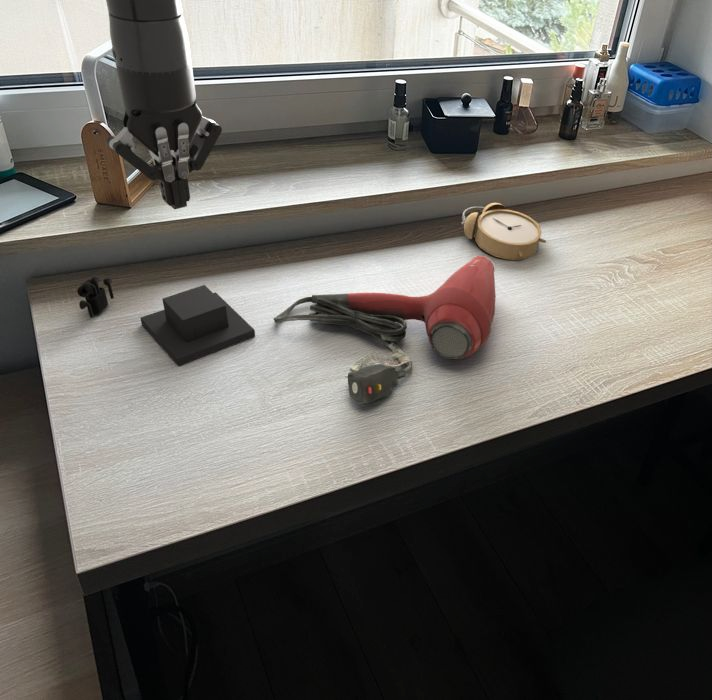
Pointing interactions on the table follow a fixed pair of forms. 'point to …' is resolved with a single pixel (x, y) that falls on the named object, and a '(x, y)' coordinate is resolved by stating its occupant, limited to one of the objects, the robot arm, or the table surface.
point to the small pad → (195, 313)
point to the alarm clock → (503, 231)
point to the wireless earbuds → (94, 295)
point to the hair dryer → (382, 310)
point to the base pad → (200, 346)
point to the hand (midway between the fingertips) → (177, 205)
